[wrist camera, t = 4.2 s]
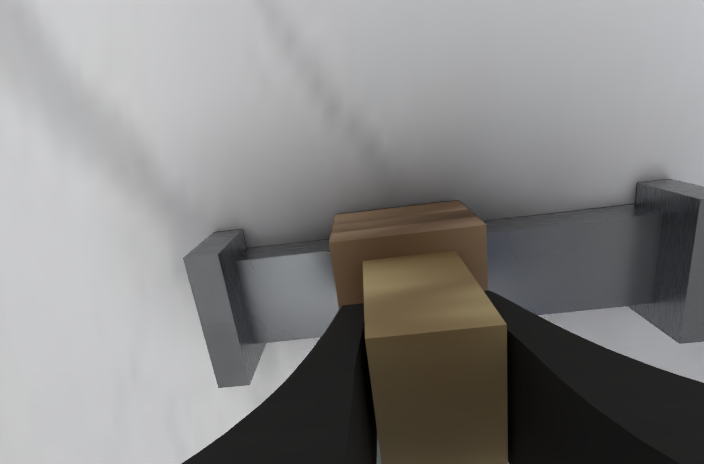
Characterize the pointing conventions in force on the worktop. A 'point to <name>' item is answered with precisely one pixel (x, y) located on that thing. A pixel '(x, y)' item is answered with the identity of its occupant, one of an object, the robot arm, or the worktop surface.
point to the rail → (502, 269)
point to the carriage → (427, 331)
